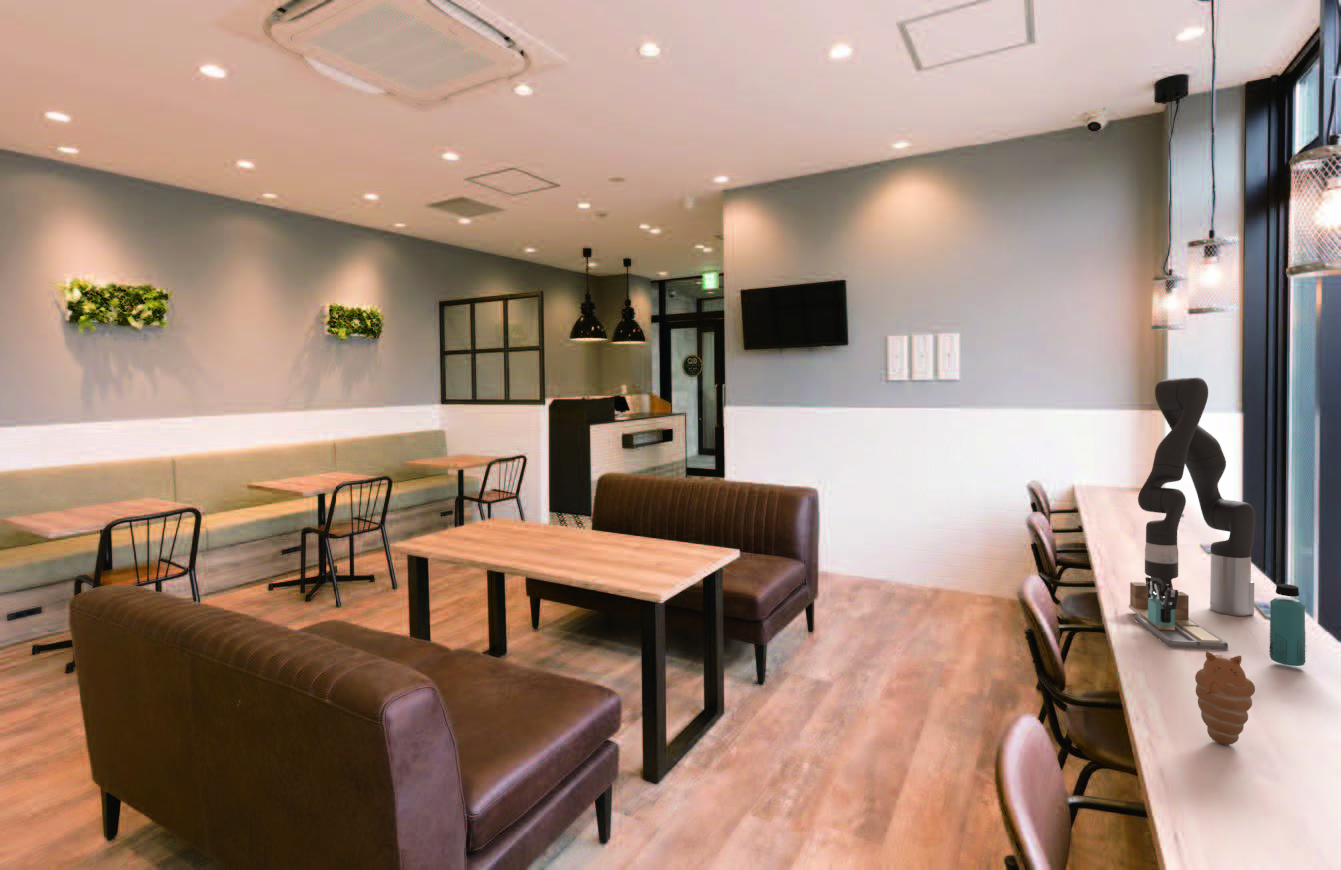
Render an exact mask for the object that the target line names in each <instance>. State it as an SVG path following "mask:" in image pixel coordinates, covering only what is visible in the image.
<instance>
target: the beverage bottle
mask: <svg viewBox="0 0 1341 870" xmlns="http://www.w3.org/2000/svg"><path fill="white" fill-rule="evenodd" d="M1275 594H1278V595H1280V596H1278V597H1275V598H1273V599H1271V600H1270V601H1269V604H1270V606H1269V607H1270V609H1269V610H1270V616H1269V617H1270V618H1269V619H1268V621H1269V633H1268V634H1269V650H1268V652H1269V654H1268V655H1269V657H1270V659H1271V661H1273V662H1275V663H1277V664H1281V665H1285V666H1294V667H1301V666H1304V665H1305V664H1306V660H1307V659H1306V658H1307V657H1306V637H1307V636H1306V635H1307V632H1306V605H1305V604H1304V603H1303V602H1301V600H1299V599H1296V598H1292V597H1299V596H1300V590H1299V586H1296V585H1293V584H1287V583H1278V584H1276V587H1275Z"/></svg>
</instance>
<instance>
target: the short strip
mask: <svg viewBox="0 0 1341 870" xmlns="http://www.w3.org/2000/svg"><path fill="white" fill-rule="evenodd" d="M1189 600H1190V599H1189V595H1188V594H1186V593H1185V592H1183V591H1178V598H1177V604H1176V609H1175V625H1176V626H1178V627H1179V628H1183V626H1188V627H1197V625H1196V624H1194V623H1193V622H1191V621H1190V620H1188V618H1189V610H1190V608H1189V607H1190V606H1189Z"/></svg>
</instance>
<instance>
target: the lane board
mask: <svg viewBox="0 0 1341 870" xmlns="http://www.w3.org/2000/svg"><path fill="white" fill-rule="evenodd" d="M1135 620H1136V621H1137V622H1138V623H1137V622H1136V621H1135ZM1188 620H1190V621H1191V622H1193V623H1194V624H1196V625H1197V627H1188V626H1183V628H1179V627H1178V626H1176V625H1175V630H1158V629H1157V628H1155V627H1154V626H1153V625H1151V624H1150V623H1149V622H1147V621H1146V620H1145V619H1143V618H1142V617H1141V616H1139V615H1138V614H1137V613H1135V614H1134V621H1135V622H1136V623H1137V624H1139V623H1140V624H1141V625H1142V626H1143V627H1142V626H1141V625H1140V624H1139V625H1140V626H1141V627H1142V628H1143V629H1145V628H1146V629H1147V630H1146V629H1145V630H1146V631H1147V632H1149V631H1150V632H1151V633H1152V634H1151V633H1150V632H1149V633H1150V634H1151V635H1153V636H1154V635H1155V636H1156V637H1155V636H1154V637H1155V638H1156V639H1158V640H1159V639H1160V640H1161V641H1160V640H1159V641H1160V642H1162V643H1163V644H1164V643H1165V644H1164V645H1165V646H1167V647H1168V648H1169V647H1170V648H1171V649H1188V648H1189V649H1191V650H1192V649H1194V650H1195V649H1196V650H1216V651H1228V649H1229V644H1228V642H1227V641H1225V640H1223V639H1222V638H1220V637H1219V636H1217V635H1216V634H1214V633H1213V632H1211V631H1210V630H1208V629H1207V628H1205V627H1203V626H1201V625H1200V624H1199V623H1197V622H1196V621H1194V620H1193V619H1191V618H1190V617H1188Z"/></svg>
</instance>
